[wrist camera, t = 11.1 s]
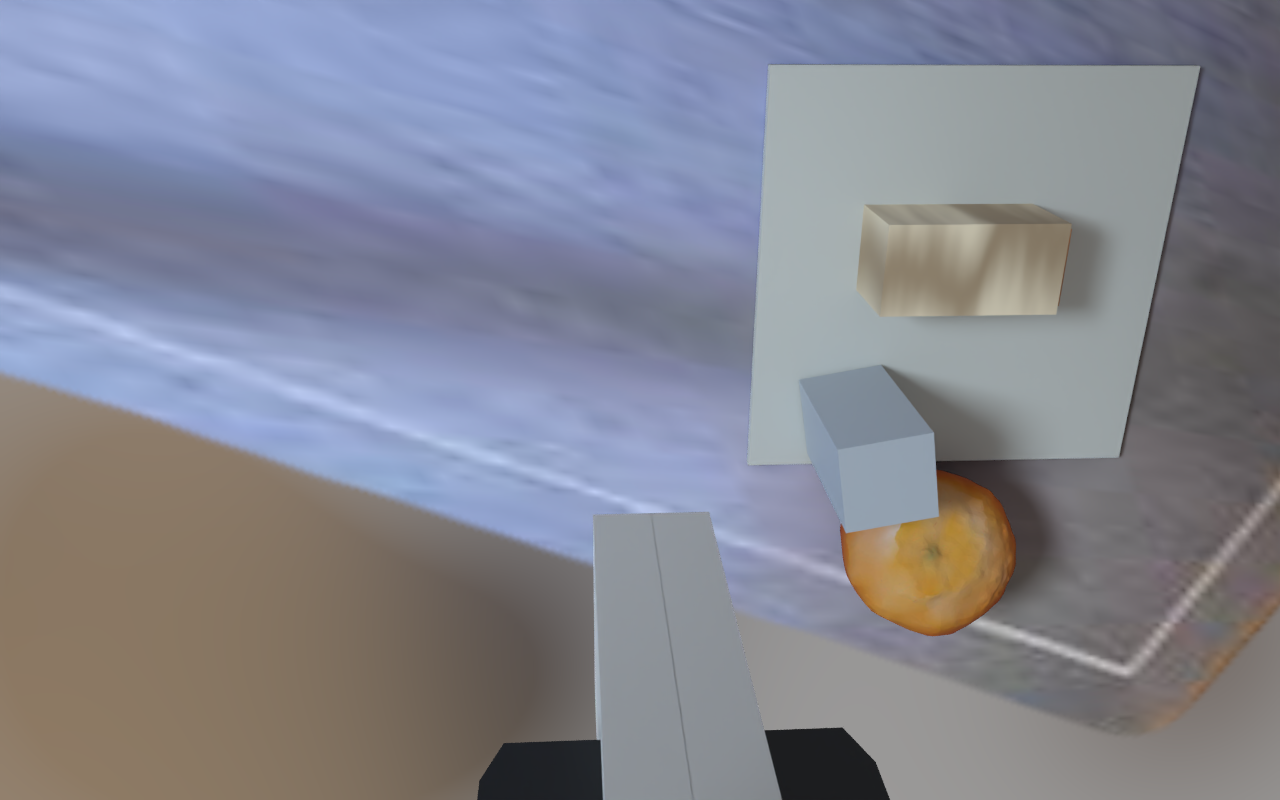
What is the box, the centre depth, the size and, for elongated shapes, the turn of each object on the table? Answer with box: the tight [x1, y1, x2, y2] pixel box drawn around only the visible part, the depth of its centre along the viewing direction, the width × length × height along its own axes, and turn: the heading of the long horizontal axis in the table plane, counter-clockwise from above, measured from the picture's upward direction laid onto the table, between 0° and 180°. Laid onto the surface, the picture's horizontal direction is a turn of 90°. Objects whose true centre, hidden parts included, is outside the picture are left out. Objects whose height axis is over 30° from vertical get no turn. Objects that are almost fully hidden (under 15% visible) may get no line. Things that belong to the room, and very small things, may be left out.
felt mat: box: [747, 64, 1200, 465], centre depth 48 cm, size 19×19×1 cm
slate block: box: [799, 365, 939, 533], centre depth 47 cm, size 4×4×8 cm
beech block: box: [856, 204, 1072, 317], centre depth 46 cm, size 4×4×8 cm
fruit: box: [840, 470, 1016, 636], centre depth 51 cm, size 8×8×8 cm
